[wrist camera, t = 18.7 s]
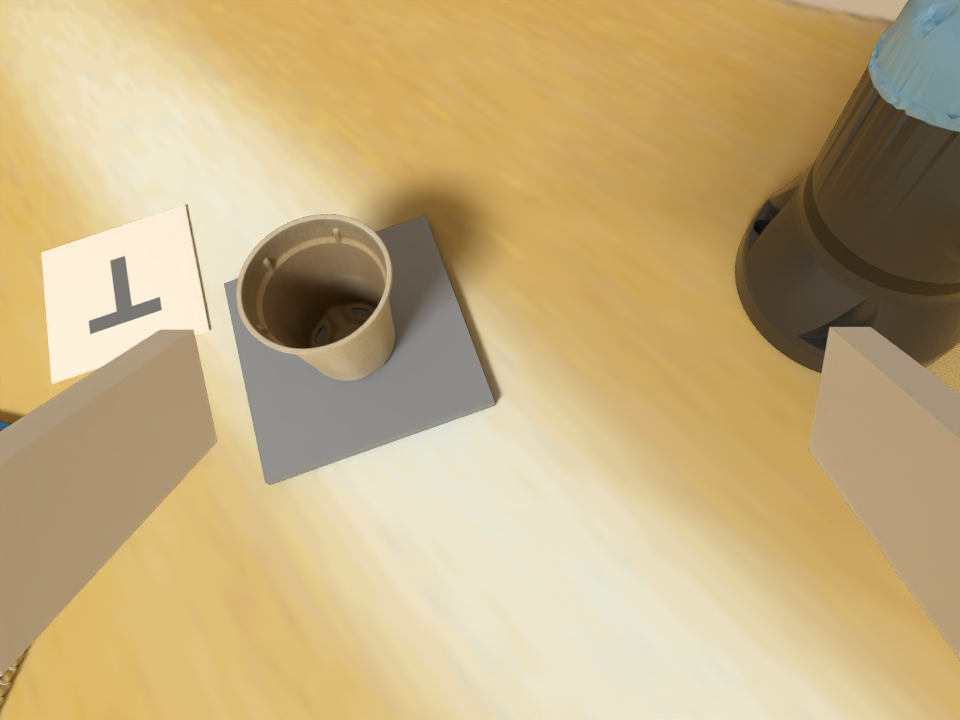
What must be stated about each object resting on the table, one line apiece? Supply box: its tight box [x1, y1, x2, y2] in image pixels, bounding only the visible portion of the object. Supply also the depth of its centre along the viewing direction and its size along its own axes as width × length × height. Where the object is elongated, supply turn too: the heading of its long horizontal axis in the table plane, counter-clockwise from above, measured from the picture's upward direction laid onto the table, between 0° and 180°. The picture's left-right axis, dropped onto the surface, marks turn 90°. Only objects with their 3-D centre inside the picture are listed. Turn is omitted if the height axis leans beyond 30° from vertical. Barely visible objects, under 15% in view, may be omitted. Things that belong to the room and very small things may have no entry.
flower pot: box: [236, 214, 395, 381], centre depth 43 cm, size 9×9×9 cm
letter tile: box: [41, 205, 210, 384], centre depth 51 cm, size 12×12×1 cm
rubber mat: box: [224, 215, 495, 485], centre depth 48 cm, size 16×16×1 cm
